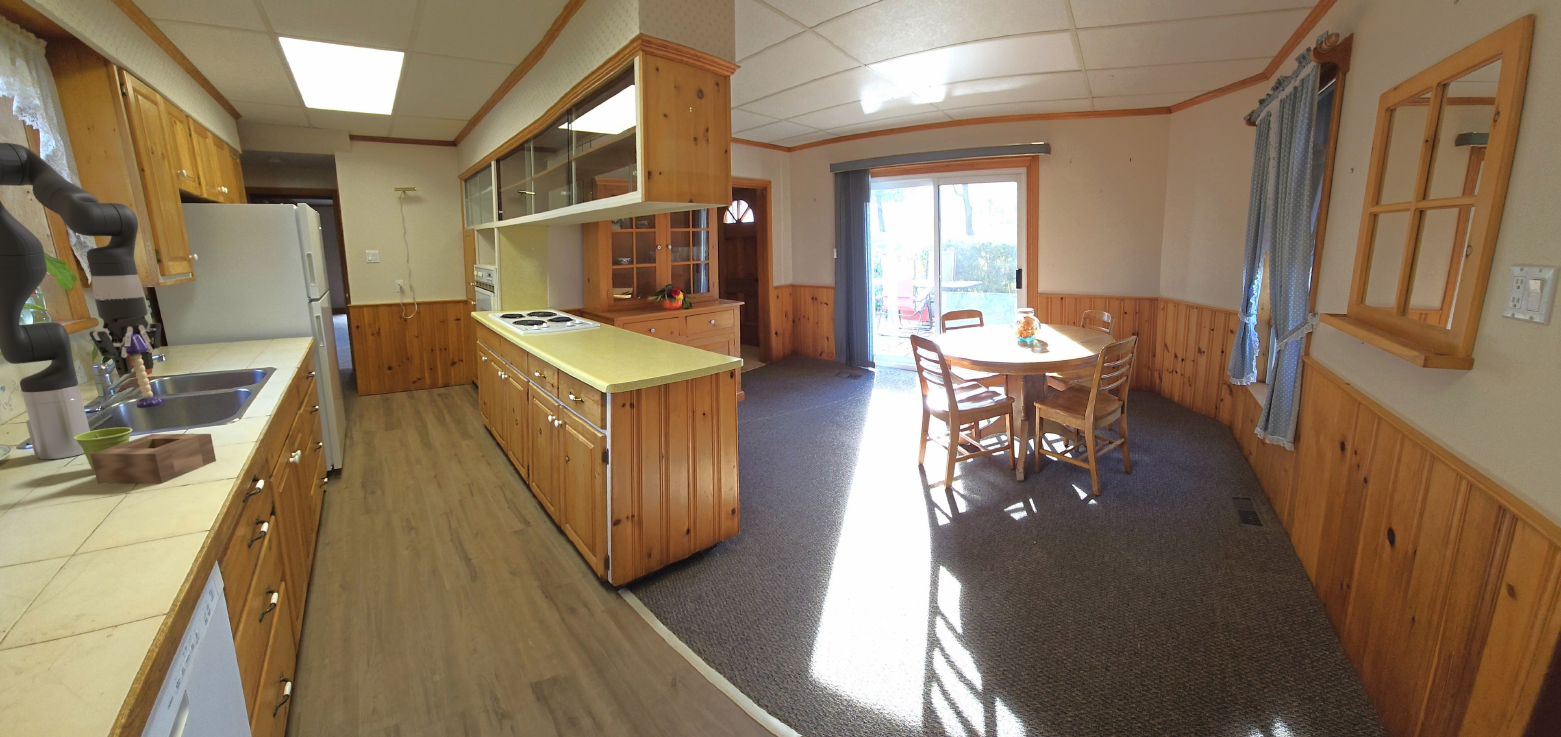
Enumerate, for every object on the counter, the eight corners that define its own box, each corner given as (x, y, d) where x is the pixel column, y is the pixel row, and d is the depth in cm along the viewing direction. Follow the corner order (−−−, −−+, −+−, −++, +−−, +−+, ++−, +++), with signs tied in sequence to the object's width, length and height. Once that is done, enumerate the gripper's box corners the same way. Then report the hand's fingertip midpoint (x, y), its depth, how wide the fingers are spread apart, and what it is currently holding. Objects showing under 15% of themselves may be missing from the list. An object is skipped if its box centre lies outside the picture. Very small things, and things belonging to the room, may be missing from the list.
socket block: (97, 483, 138) (90, 454, 136) (157, 461, 151) (151, 434, 150) (161, 483, 138) (155, 453, 136) (216, 460, 152) (210, 433, 150)
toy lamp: (143, 409, 139) (125, 336, 135) (127, 408, 140) (109, 335, 136) (168, 403, 143) (151, 332, 139) (152, 402, 144) (135, 332, 140)
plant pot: (129, 458, 153) (121, 425, 151) (147, 464, 149) (139, 430, 147) (75, 471, 145) (66, 436, 143) (93, 477, 141) (84, 441, 139)
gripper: (134, 292, 143) (150, 365, 146) (66, 299, 129) (85, 378, 132) (167, 293, 143) (182, 365, 146) (103, 299, 129) (121, 378, 133)
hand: (136, 371), depth 139 cm, fingers closed on toy lamp, 4 cm apart
